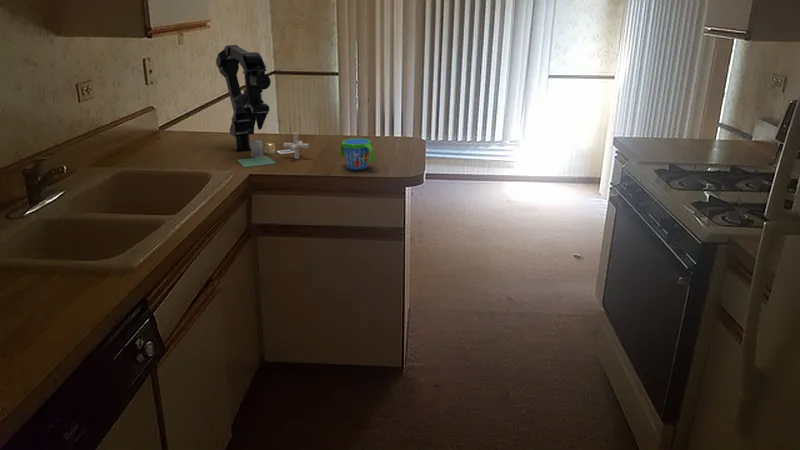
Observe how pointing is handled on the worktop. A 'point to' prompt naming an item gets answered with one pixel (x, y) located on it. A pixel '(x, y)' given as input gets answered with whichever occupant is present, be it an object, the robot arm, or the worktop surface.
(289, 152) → the label tile
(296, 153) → the pipe connector
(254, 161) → the mat
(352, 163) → the snack cup
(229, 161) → the worktop surface
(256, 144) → the cylinder
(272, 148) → the brass fitting
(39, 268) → the worktop surface
